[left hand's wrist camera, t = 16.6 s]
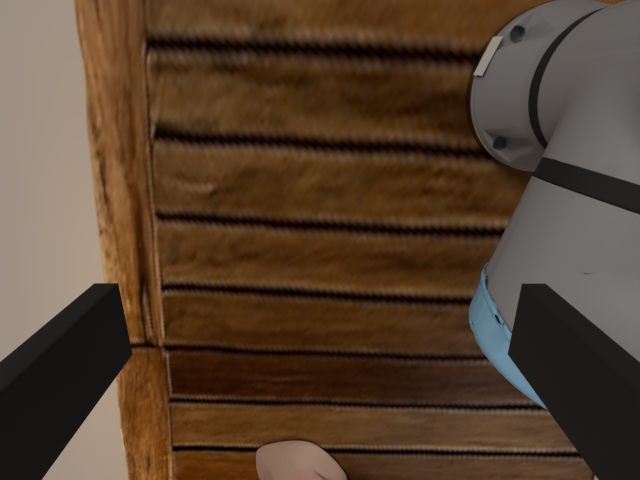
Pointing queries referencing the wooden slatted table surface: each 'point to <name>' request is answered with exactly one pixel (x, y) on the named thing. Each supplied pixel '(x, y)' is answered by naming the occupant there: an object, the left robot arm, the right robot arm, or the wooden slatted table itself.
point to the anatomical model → (296, 462)
